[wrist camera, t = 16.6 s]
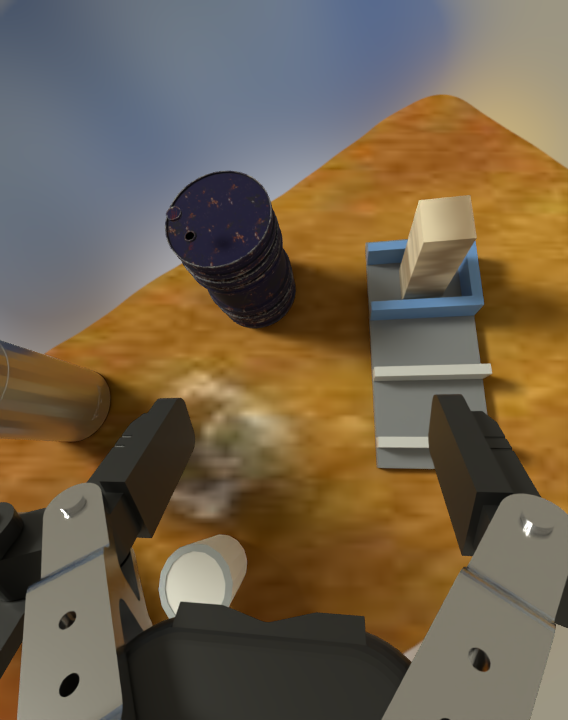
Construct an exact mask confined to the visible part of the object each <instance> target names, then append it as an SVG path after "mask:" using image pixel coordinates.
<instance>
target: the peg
mask: <svg viewBox="0 0 568 720" xmlns="http://www.w3.org/2000/svg"><path fill="white" fill-rule="evenodd" d="M475 240H476V231H475V224H474V217H473V210H472V204H471V197H470V195H467V196H457V197H447V198H438V199H428V200H419V203H418V206H417V210H416V213H415V217H414V220H413V224H412V227H411V231H410V234H409V238H408V241H407V245H406V248H405V252H404V255H403V259H402V262H401V266H400V269H399V276H400V288H401V300H408V299H425V298H441V296H442V295H443V293H444V291H445V290H446V288H447V286H448V285H449V283H450V281H451V280H452V278H453V276H454V275H455V273H456V271H457V270H458V268H459V266H460V265H461V263H462V261H463V260H464V258H465V256H466V255H467V253H468V251H469V250H470V248H471V246H472V245H473V243H474V241H475Z"/></svg>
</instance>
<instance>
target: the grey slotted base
mask: <svg viewBox="0 0 568 720" xmlns="http://www.w3.org/2000/svg"><path fill="white" fill-rule="evenodd" d="M407 241H408V239H405V240H393V241H381V242H369V243H366V246H365V251H366V270H367V289H368V308H369V327H370V346H371V365H372V384H373V403H374V422H375V441H376V460H377V468H414V469H435V468H434V464H433V461H432V458H431V455H430V451H429V444H428V432H429V423H430V415H431V407H432V399H433V396H434V395H435V394H462V395H463V397H464V399H465V400H466V402H467V404H468V406H469V408H470V410H471V411H483V412H484V413H485V414H487V408H486V401H485V393H484V386H483V378H485V377H487V376H489V375H490V374H492V370H491V364H481V363H480V356H479V348H478V341H477V333H476V326H475V318H474V315H475V314H476V313H477V312H478V311H479V310H480V309H481V307H482V306H483V305H484V299H483V292H482V284H481V277H480V270H479V263H478V256H477V249H476V242H475V241H474V243H473V245H472V246H471V248H470V250H469V251H468V253H467V255H466V256H465V258H464V260H463V261H462V263H461V265H460V266H459V268H458V270H457V271H456V273H455V275H454V276H453V278H452V280H451V281H450V283H449V285H448V286H447V288H446V290H445V291H444V293H443V295H442V296H441V298H425V299H408V300H401V288H400V276H399V269H400V266H401V262H402V259H403V255H404V252H405V248H406V245H407Z"/></svg>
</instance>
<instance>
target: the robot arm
mask: <svg viewBox="0 0 568 720" xmlns="http://www.w3.org/2000/svg"><path fill="white" fill-rule="evenodd" d="M109 407H110V391H109V387H108V385H107V383H106V381H105V380H104V378H103V377H102V376H101V375H99V374H98V373H96V372H94V371H92V370H89V369H86V368H83V367H80V366H77V365H74V364H71V363H68V362H65V361H62V360H59V359H56V358H53V357H50V356H47V355H44V354H41V353H38V352H35V351H32V350H29V349H26V348H23V347H20V346H16V345H14V344H11V343H8V342H4V341H1V340H0V438H3V439H24V440H44V441H66V442H75V441H80V440H83V439H85V438H87V437H89V436H90V435H92V434H93V433H95V432H96V431H97V430H98V429H99V427H100V426H101V425H102V423H103V422H104V420H105V418H106V416H107V414H108V411H109ZM194 444H195V435H194V430H193V427H192V424H191V421H190V417H189V414H188V411H187V408H186V404H185V402H184V400H183V399H182V398H160V399H158V400H157V401H156V402H155V403H154V405H153V406H152V408H151V409H150V410H149V412H148V413H144V414H142V415H141V416H140V417H139V418H137V419H136V420H135V421H133V422H132V423H131V424H130V425H129V426H128V428H127V429H126V430H125V432H124V433H123V435H122V438H120V439H119V440H118V441H117V443H116V444H115V447H113V448H112V449H111V451H110V452H109V453H108V455H107V456H106V457H105V459H104V460H103V461H102V463H101V464H100V465H99V467H98V468H97V469H96V471H95V472H94V474H93V475H92V476H91V478H90V479H89V480H88V482H87V483H82V484H78V485H75V486H72V487H70V488H68V489H66V490H65V491H63V492H62V493H60V494H59V495H58V496H56V497H55V498H54V499H53V500H52V501H51V502H50V504H49V505H48V506H47V508H43V509H39V510H35V511H31V512H27V513H23V514H18V513H17V511H16V510H15V509H14V507H13V506H12V505H11V504H9V503H5V502H1V503H0V678H1V677H2V675H3V673H4V672H5V670H6V668H7V667H8V665H9V663H10V661H11V660H12V658H13V656H14V655H15V653H16V651H17V650H18V648H19V646H20V644H21V643H22V641H23V644H22V658H21V672H20V686H19V700H18V714H17V720H530V718H531V714H532V711H533V707H534V704H535V700H536V697H537V694H538V690H539V686H540V683H541V680H542V676H543V673H544V669H545V666H546V662H547V659H548V655H549V652H550V648H551V645H552V642H553V638H554V633H555V629H556V624H558V625H561V626H563V627H566V628H568V515H567V514H566V513H565V512H564V511H563V510H562V509H561V508H559V507H558V506H557V505H555V504H553V503H552V502H550V501H548V500H546V499H543V498H541V496H540V495H539V493H538V491H537V490H536V488H535V486H534V485H533V483H532V481H531V479H530V478H529V476H528V474H527V473H526V471H525V469H524V468H523V466H522V464H521V463H520V461H519V459H518V457H517V456H516V454H515V452H514V451H512V447H511V446H510V444H509V442H508V440H507V439H505V435H504V434H503V432H502V430H501V429H500V427H499V425H498V424H497V422H495V421H494V420H493V419H492V418H490V417H489V416H488V415H487V414H485V413H484V412H483V411H471V410H470V408H469V406H468V404H467V402H466V400H465V399H464V397H463V395H462V394H435V395H434V396H433V399H432V407H431V415H430V423H429V432H428V444H429V451H430V455H431V458H432V461H433V464H434V468H435V471H436V474H437V477H438V480H439V484H440V487H441V490H442V493H443V496H444V500H445V503H446V506H447V509H448V513H449V516H450V519H451V522H452V525H453V529H454V532H455V535H456V538H457V541H458V545H459V548H460V551H461V554H462V556H473V557H472V559H471V561H470V563H469V564H468V566H467V567H463V568H462V570H461V571H460V573H459V574H458V576H457V578H456V580H455V582H454V584H453V585H452V587H451V589H450V591H449V593H448V595H447V597H446V599H445V601H444V602H443V604H442V606H441V608H440V610H439V612H438V614H437V616H436V618H435V619H434V621H433V623H432V625H431V627H430V629H429V631H428V633H427V635H426V636H425V638H424V640H423V642H422V644H421V646H420V648H419V650H418V652H417V654H416V655H415V657H414V659H413V661H412V662H411V661H410V660H409V659H408V658H407V657H406V656H404V655H403V654H402V653H401V652H400V651H399V650H397V649H396V648H395V647H393V646H392V645H390V644H389V643H388V642H386V641H384V640H382V639H380V638H379V637H377V636H375V635H372V634H370V633H367V632H365V618H364V616H354V615H341V614H329V613H317V612H316V613H311V614H307V615H302V616H297V617H293V618H288V619H283V620H279V621H274V622H263V621H260V620H258V619H255V618H253V617H251V616H248V615H246V614H243V613H241V612H239V611H236V610H234V609H231V608H229V607H227V606H224V605H218V604H206V603H194V602H181V601H180V604H179V607H178V610H177V613H176V616H175V617H173V618H170V619H167V620H165V621H162V622H159V623H157V624H155V625H152V623H151V620H150V618H149V615H148V612H147V608H146V604H145V600H144V595H143V590H142V586H141V581H140V576H139V572H138V567H137V562H136V558H135V553H134V550H133V548H132V545H133V544H134V542H135V540H136V538H137V537H139V538H152V537H153V535H154V532H155V530H156V528H157V526H158V524H159V522H160V520H161V518H162V515H163V513H164V511H165V509H166V507H167V505H168V503H169V501H170V498H171V496H172V494H173V492H174V490H175V488H176V486H177V484H178V481H179V479H180V477H181V475H182V473H183V471H184V469H185V467H186V464H187V462H188V460H189V458H190V456H191V454H192V452H193V449H194ZM555 623H556V624H555Z"/></svg>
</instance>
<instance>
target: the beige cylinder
mask: <svg viewBox="0 0 568 720" xmlns="http://www.w3.org/2000/svg"><path fill="white" fill-rule="evenodd" d="M246 569H247V558H246V554H245V551H244V549H243V547H242V546H241V544H240V543H239V542H238V541H237V540H236V539H234V538H232V537H231V536H229V535H221V534H219V535H216V536H213V537H210V538H207V539H204V540H201V541H198V542H195V543H192V544H189V545H186V546H183V547H180V548H179V549H178V550H176V551H175V552H174V553H173V554H172V555H171V556H170V557H169V558H168V559H167V561H166V563H165V565H164V567H163V569H162V571H161V575H160V583H159V594H160V599H161V605H162V607H163V609H164V611H165V612H166V614H167V616H168V617H169V619H170V618H173V617H175V616H176V613H177V610H178V607H179V604H180V601H181V602H194V603H206V604H218V605H224V606H227V607H229V606H230V604H231V602H232V600H233V598H234V596H235V594H236V592H237V590H238V588H239V587H240V585H241V583H242V581H243V578H244V576H245V574H246Z"/></svg>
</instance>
